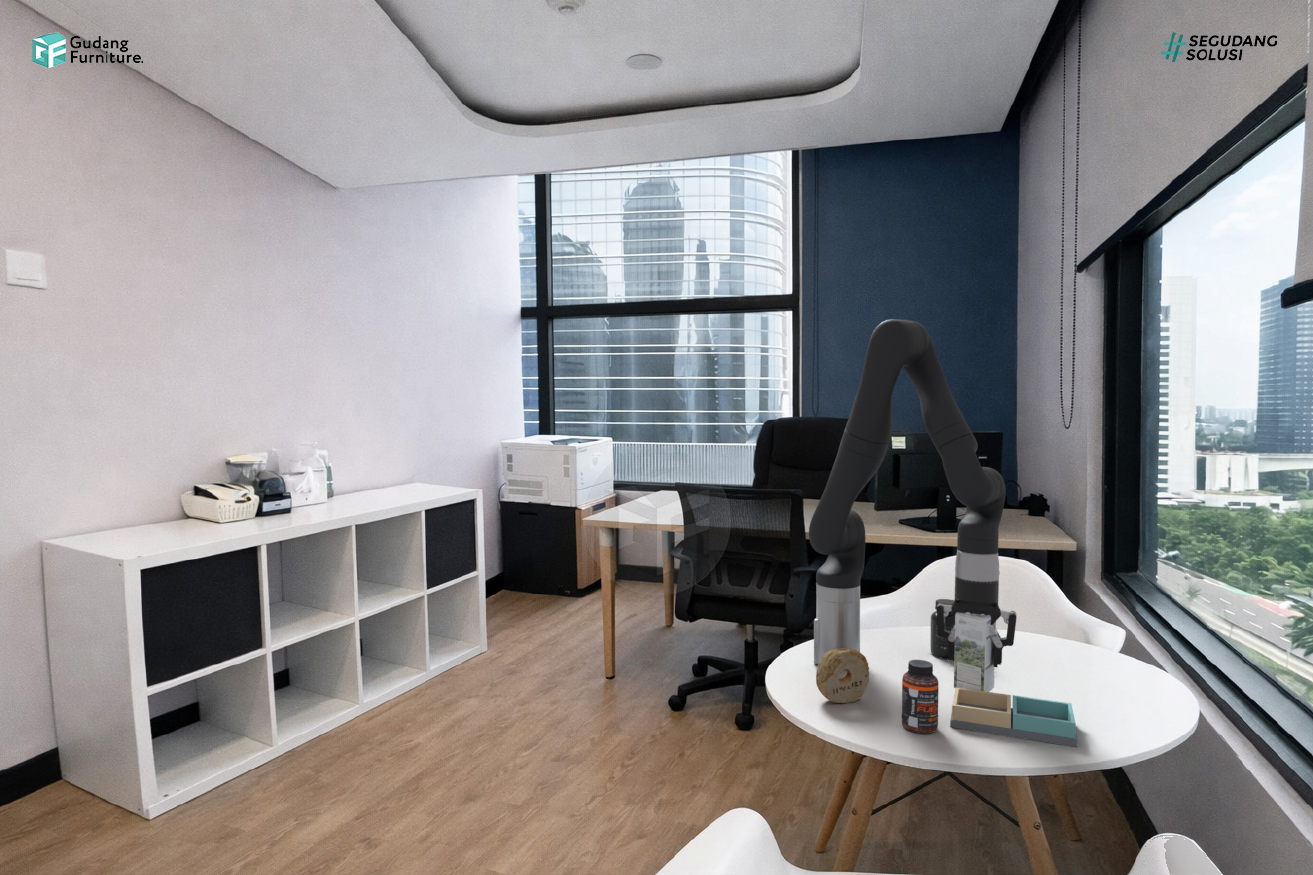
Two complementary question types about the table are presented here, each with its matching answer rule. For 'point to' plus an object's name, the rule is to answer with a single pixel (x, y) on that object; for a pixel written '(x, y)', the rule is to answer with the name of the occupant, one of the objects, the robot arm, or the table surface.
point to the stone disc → (850, 683)
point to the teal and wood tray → (1014, 716)
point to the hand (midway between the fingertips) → (974, 662)
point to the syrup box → (973, 652)
